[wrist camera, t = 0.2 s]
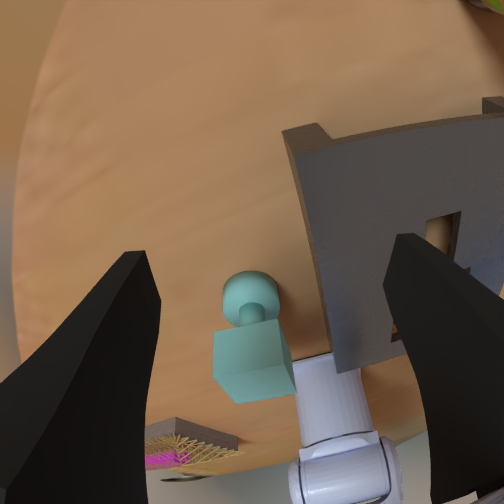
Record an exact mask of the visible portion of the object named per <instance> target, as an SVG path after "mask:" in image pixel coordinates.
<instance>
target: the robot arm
mask: <svg viewBox="0 0 504 504" xmlns="http://www.w3.org/2000/svg"><path fill="white" fill-rule="evenodd" d="M382 285H383V289H384V292H385V296H386V300H387V303H388V306H389V310H390V313H391V315H392V318H393V320H394V323H395V325H396V328H397V330H398V332H399V335H400V337H401V340H402V342H403V344H404V347H405V349H406V352H407V354H408V357H409V359H410V362H411V364H412V367H413V370H414V372H415V375H416V378H417V382H418V385H419V389H420V393H421V397H422V402H423V407H424V411H425V417H426V423H427V430H428V437H429V447H430V459H431V491H430V496H431V501H432V504H443V503H446V502H449V501H452V500H455V499H458V498H460V497H463V496H466V495H468V494H470V493H472V492H474V491H476V493H477V497H478V500H476V501H474V502H472V503H471V504H504V300H503V299H502V298H501V297H499V296H498V295H497V294H495V293H494V292H493V291H491V290H490V289H489V288H487V287H486V286H485V285H483V284H482V283H481V282H480V281H478V280H477V279H476V278H474V277H473V276H472V275H471V274H469V273H468V272H467V271H465V270H464V269H463V268H462V267H460V266H459V265H458V264H457V263H455V262H454V261H453V260H451V259H450V258H449V257H448V256H446V255H445V254H444V253H442V252H441V251H440V250H438V249H437V248H436V247H434V246H433V245H432V244H430V243H429V242H427V241H426V240H424V239H423V238H421V237H420V236H418V235H417V234H415V233H404V234H397V235H396V239H395V243H394V247H393V250H392V254H391V257H390V261H389V264H388V268H387V271H386V275H385V278H384V281H383V284H382ZM160 313H161V299H160V296H159V293H158V290H157V287H156V284H155V281H154V278H153V275H152V272H151V269H150V265H149V262H148V259H147V256H146V253H145V250H142V251H128V252H124V253H123V254H122V255H121V256H120V258H119V259H118V260H117V261H116V262H115V263H114V264H113V265H112V266H111V268H110V269H109V270H108V271H107V272H106V273H105V274H104V276H103V277H102V278H101V279H100V280H99V281H98V283H97V284H96V285H95V286H94V287H93V288H92V290H91V291H90V292H89V293H88V294H87V295H86V297H85V298H84V299H83V300H82V301H81V303H80V304H79V305H78V306H77V307H76V308H75V309H74V310H73V311H72V313H71V314H70V315H69V316H68V317H67V318H66V319H65V320H64V322H63V323H62V324H61V325H60V326H59V327H58V328H57V329H56V331H55V332H54V333H53V334H52V335H51V336H50V337H49V338H48V339H47V340H46V341H45V342H44V343H43V344H42V345H41V346H40V347H39V348H38V349H37V350H36V351H35V352H34V353H33V354H32V355H31V356H30V357H29V358H28V359H27V360H26V361H25V362H24V363H23V364H21V365H20V366H19V367H18V368H17V369H16V370H15V371H14V372H12V373H11V374H10V375H9V376H8V377H7V378H6V379H5V380H4V381H3V382H1V383H0V504H148V497H147V487H146V473H145V411H146V402H147V395H148V389H149V383H150V377H151V372H152V366H153V361H154V356H155V351H156V345H157V340H158V335H159V326H160ZM292 365H293V372H294V378H295V385H296V391H297V393H295V399H296V405H297V412H298V419H299V426H300V434H301V441H302V448H303V449H300V450H299V454H300V457H296V458H294V460H293V462H292V463H291V464H290V466H289V487H290V494H291V498H292V502H293V504H355V503H360V502H363V501H367V500H371V499H375V498H378V497H381V498H380V499H378V500H376V501H374V502H371V503H367V504H402V500H403V493H402V486H401V483H402V479H401V470H400V464H399V460H398V456H397V452H396V449H395V446H394V444H393V442H392V440H390V439H388V438H387V437H386V436H382V437H380V438H379V436H378V431H374V427H373V423H372V419H371V415H370V411H369V407H368V404H367V400H366V396H365V392H364V389H363V385H362V381H361V368H358V369H355V370H351V371H348V372H344V373H340V374H337V372H336V368H335V364H334V360H333V356H332V352H331V353H328V354H324V355H320V356H316V357H312V358H307V359H303V360H299V361H295V362H292Z"/></svg>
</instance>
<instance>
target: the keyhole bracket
mask: <svg viewBox="0 0 504 504" xmlns="http://www.w3.org/2000/svg"><path fill="white" fill-rule="evenodd" d="M482 99H483V114H482V115H472V116H464V117H456V118H448V119H441V120H434V121H427V122H421V123H415V124H409V125H403V126H397V127H392V128H386V129H381V130H376V131H371V132H366V133H361V134H356V135H351V136H347V137H342V138H338V139H333V140H332V139H331V138H330V137H329V136H328V135H327V133H326V132H325V131H324V130H323V129H322V128H321V127H320V126H319V125H318V123H312V124H308V125H304V126H300V127H296V128H292V129H288V130H284V131H282V135H283V139H284V142H285V146H286V150H287V154H288V157H289V161H290V165H291V169H292V173H293V177H294V181H295V185H296V189H297V193H298V197H299V201H300V205H301V210H302V214H303V218H304V223H305V227H306V231H307V236H308V240H309V245H310V249H311V254H312V258H313V263H314V268H315V273H316V277H317V282H318V287H319V292H320V297H321V302H322V308H323V313H324V318H325V324H326V329H327V335H328V340H329V344H330V348H331V352H332V356H333V360H334V364H335V368H336V372H337V374H340V373H344V372H348V371H351V370H355V369H358V368H362V367H365V366H369V365H372V364H375V363H379V362H382V361H385V360H388V359H391V358H394V357H397V356H400V355H403V354H406V353H407V352H406V349H405V347H404V344H403V342H402V340H401V337H400V335H399V332H397V333H394V334H392V327H393V318H392V315H391V313H390V310H389V306H388V303H387V300H386V296H385V292H384V289H383V285H382V284H383V281H384V278H385V275H386V271H387V268H388V264H389V261H390V257H391V254H392V250H393V247H394V243H395V239H396V235H397V234H404V233H415V234H417V235H418V236H420V237H421V238H423V239H424V240H425V236H426V222H427V220H430V219H433V218H437V217H441V216H444V215H448V214H451V213H454V216H453V224H452V232H451V239H450V246H449V252H448V257H449V258H450V259H451V260H453V261H454V262H455V263H457V264H458V265H459V266H460V267H462V268H463V269H464V270H465V271H467V272H468V273H469V274H471V275H472V276H473V277H474V278H476V279H477V280H478V281H480V282H481V283H482V284H483V285H485V286H486V287H487V288H489V289H490V290H491V291H493V292H494V293H495V294H497V295H498V296H499V294H500V291H501V289H502V286H503V283H504V98H503V97H484V98H482Z"/></svg>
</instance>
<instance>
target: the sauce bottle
mask: <svg viewBox="0 0 504 504" xmlns="http://www.w3.org/2000/svg"><path fill="white" fill-rule="evenodd" d="M468 1H469V2H470V3H472V4H473V5H475V6H477V7H479V8H481V9H483V10H485V11H488V12H497V13H499V14H501V15H504V0H468Z"/></svg>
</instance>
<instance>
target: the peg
mask: <svg viewBox="0 0 504 504" xmlns="http://www.w3.org/2000/svg"><path fill="white" fill-rule="evenodd" d="M279 312H280V303H279V297H278V290H277V285H276V282H275V281H274V279H273V278H272V277H270V276H269V275H267V274H265V273H263V272H259V271H244V272H240V273H238V274H235V275H234V276H232V277H231V278H229V279H228V280H227V282H226V283H225V285H224V289H223V313H224V316H225V318H226V319H227V320H228V321H229V322H230V323H231V324H233V325H235V326H238V327H237V328H232V329H227V330H223V331H218V332H214V345H213V378H214V379H215V381H216V382H217V383H218V384H219V385H220V386H221V387H222V389H223V390H224V391H225V392H226V393H227V394H228V395H229V397H230V398H231V399H232V400H233V401H234V402H235V403H236V404H240V403H246V402H253V401H259V400H264V399H270V398H275V397H281V396H286V395H291V394H295V393H297V391H296V385H295V378H294V372H293V365H292V359H291V353H290V350H289V347H288V345H287V342H286V339H285V337H284V334H283V331H282V329H281V326H280V323H279V321H278V318H277V316H278V315H279ZM276 318H277V319H276Z"/></svg>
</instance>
